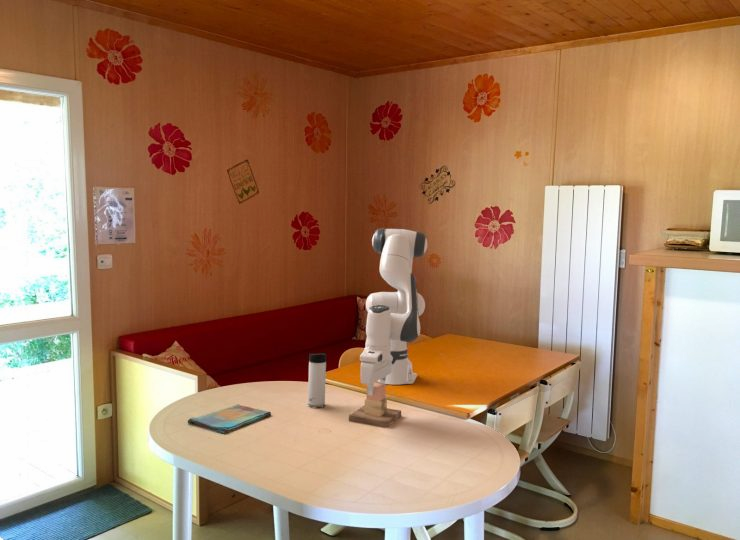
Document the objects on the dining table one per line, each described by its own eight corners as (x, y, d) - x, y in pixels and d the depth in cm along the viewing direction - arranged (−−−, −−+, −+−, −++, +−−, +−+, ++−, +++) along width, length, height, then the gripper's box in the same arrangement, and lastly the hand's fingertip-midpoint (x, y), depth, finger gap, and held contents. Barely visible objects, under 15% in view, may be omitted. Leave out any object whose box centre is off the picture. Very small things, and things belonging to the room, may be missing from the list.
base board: (365, 410, 217) (365, 404, 217) (401, 416, 212) (401, 410, 212) (348, 421, 204) (349, 415, 204) (386, 427, 199) (386, 421, 199)
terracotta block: (372, 396, 211) (372, 382, 210) (385, 398, 209) (385, 384, 209) (366, 399, 206) (367, 385, 206) (379, 401, 204) (380, 387, 204)
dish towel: (185, 425, 196) (185, 417, 196) (235, 408, 216) (235, 401, 216) (223, 436, 187) (224, 428, 187) (272, 417, 207) (272, 410, 207)
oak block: (370, 409, 212) (371, 395, 211) (386, 411, 210) (387, 397, 209) (364, 413, 206) (364, 399, 206) (380, 416, 204) (380, 402, 204)
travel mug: (309, 408, 216) (311, 354, 215) (306, 403, 223) (307, 350, 221) (326, 407, 218) (327, 354, 217) (322, 402, 224) (324, 350, 223)
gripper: (380, 346, 217) (379, 383, 218) (357, 356, 198) (356, 397, 199) (396, 348, 215) (395, 385, 216) (375, 359, 196) (373, 400, 197)
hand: (376, 391), depth 207 cm, fingers open, 8 cm apart
